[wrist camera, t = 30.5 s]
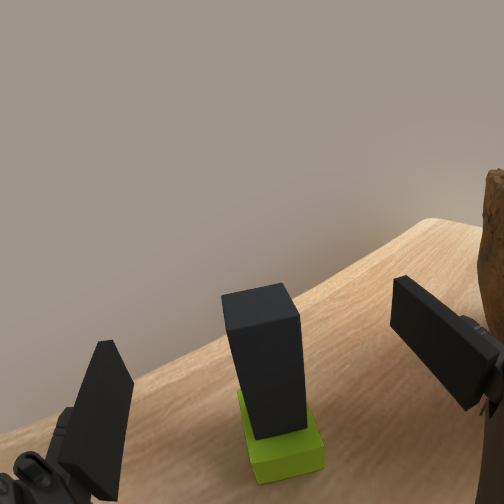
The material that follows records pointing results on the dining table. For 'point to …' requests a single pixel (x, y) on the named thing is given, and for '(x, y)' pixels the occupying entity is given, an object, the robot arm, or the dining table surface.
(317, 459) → the two-tone block stack
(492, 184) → the bowl
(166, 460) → the dining table surface
